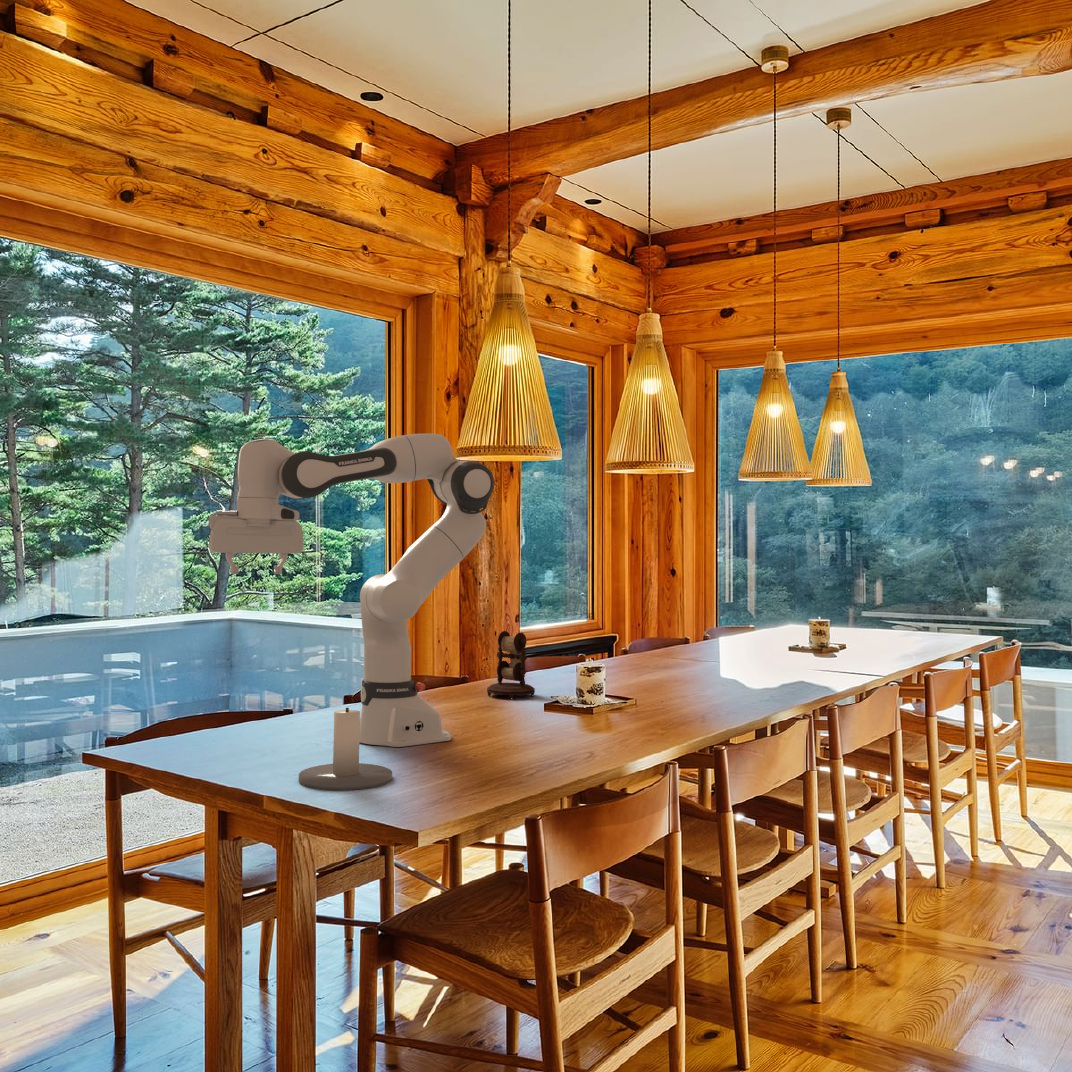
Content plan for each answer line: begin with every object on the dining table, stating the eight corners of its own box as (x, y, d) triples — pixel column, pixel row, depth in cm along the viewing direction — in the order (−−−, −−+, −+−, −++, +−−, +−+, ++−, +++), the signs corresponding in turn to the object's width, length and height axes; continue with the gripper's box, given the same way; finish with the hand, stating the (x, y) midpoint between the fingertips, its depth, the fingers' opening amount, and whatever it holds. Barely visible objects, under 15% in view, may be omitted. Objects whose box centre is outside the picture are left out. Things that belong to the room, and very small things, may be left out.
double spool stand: (544, 696, 307) (545, 632, 307) (512, 701, 295) (513, 634, 296) (509, 691, 316) (510, 628, 317) (477, 696, 305) (478, 631, 305)
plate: (375, 765, 207) (375, 760, 207) (405, 785, 191) (405, 778, 191) (288, 773, 198) (288, 767, 198) (312, 794, 182) (312, 787, 182)
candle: (354, 769, 198) (355, 705, 198) (362, 774, 193) (363, 709, 193) (329, 771, 195) (331, 706, 196) (336, 777, 191) (338, 710, 191)
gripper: (211, 509, 212) (210, 574, 212) (306, 512, 222) (305, 574, 222) (206, 510, 218) (205, 573, 218) (299, 513, 227) (297, 573, 227)
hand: (256, 573), depth 220 cm, fingers open, 8 cm apart
